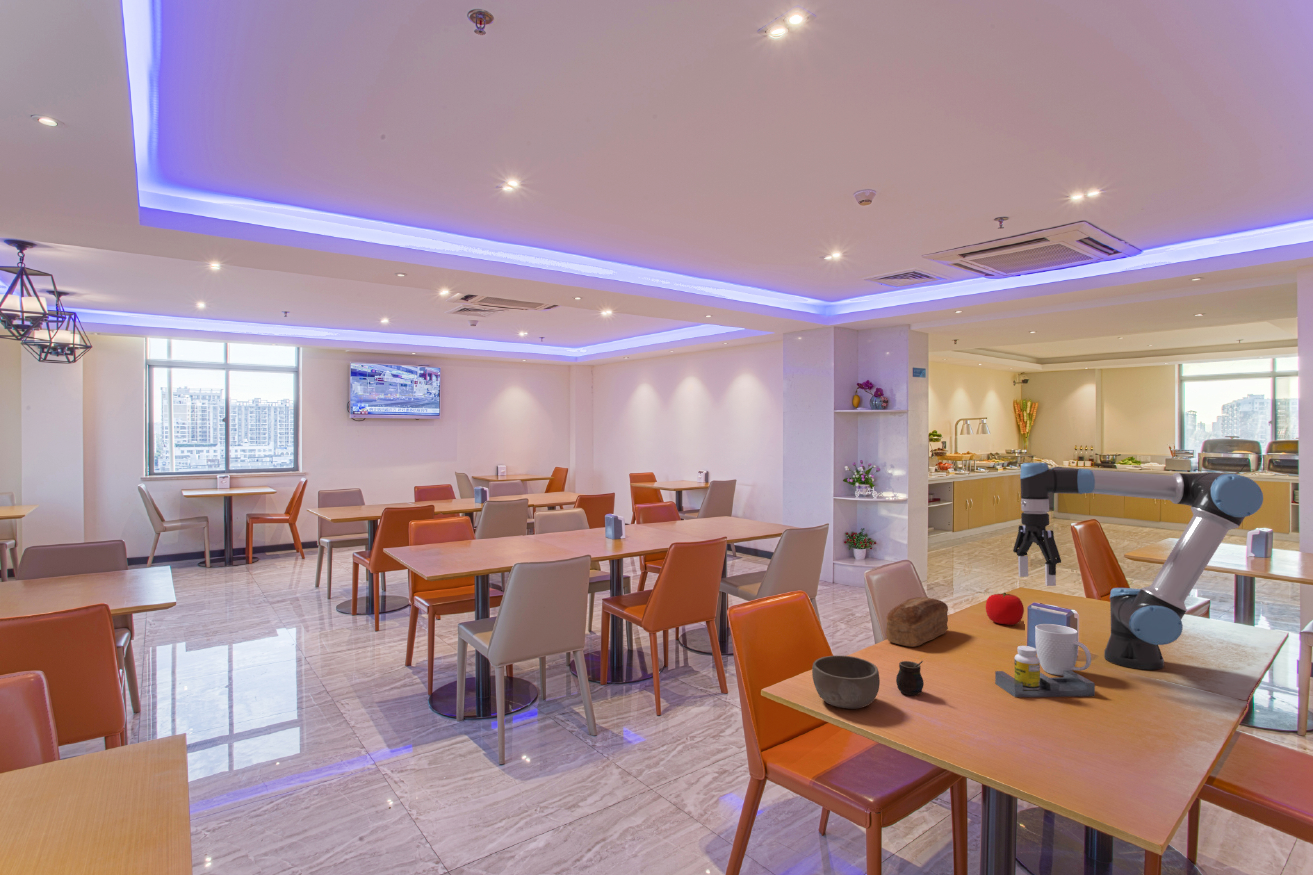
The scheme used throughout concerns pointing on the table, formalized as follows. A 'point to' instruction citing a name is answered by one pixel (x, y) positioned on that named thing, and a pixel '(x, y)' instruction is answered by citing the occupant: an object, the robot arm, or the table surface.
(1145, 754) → the table surface
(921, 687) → the mate gourd
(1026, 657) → the pill bottle
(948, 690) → the table surface
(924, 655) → the table surface
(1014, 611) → the tomato
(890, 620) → the bread
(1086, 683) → the gray divided tray
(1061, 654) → the mug
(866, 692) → the bowl
